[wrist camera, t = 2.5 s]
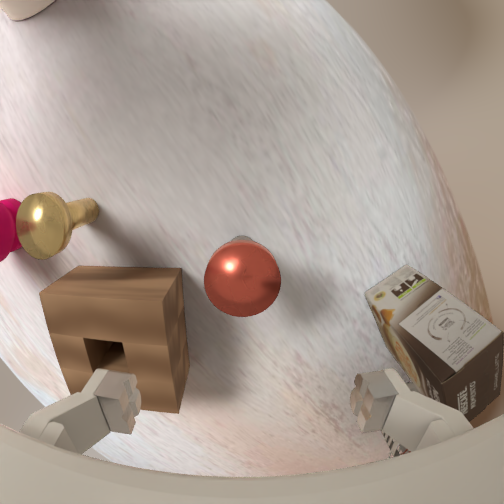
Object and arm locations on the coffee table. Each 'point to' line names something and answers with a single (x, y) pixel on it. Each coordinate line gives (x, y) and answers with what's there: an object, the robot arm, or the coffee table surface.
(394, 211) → the coffee table surface
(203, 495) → the robot arm
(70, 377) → the hitch block
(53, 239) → the brass pin
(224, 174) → the coffee table surface
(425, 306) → the coffee box
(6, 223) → the pepper mill
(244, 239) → the red round-headed grey cylinder
